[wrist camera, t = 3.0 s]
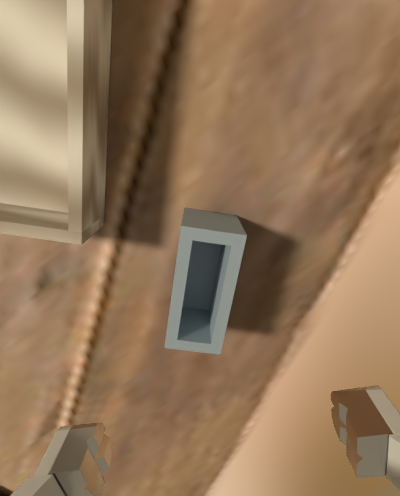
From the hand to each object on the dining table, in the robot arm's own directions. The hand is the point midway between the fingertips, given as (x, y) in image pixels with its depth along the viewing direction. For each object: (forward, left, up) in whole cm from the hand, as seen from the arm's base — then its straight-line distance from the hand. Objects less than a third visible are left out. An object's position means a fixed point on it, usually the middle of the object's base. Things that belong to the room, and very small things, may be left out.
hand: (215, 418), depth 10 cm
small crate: (0, 0, -14) cm, 14 cm away
